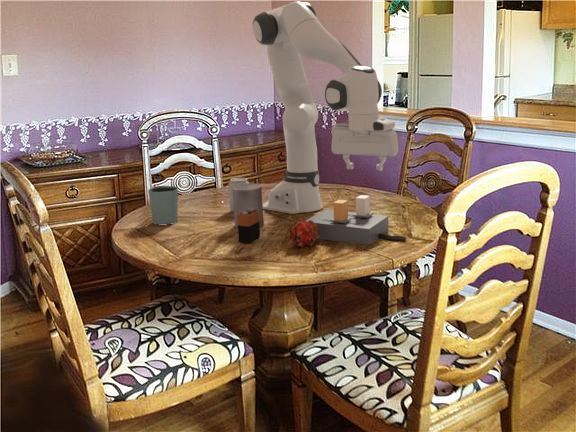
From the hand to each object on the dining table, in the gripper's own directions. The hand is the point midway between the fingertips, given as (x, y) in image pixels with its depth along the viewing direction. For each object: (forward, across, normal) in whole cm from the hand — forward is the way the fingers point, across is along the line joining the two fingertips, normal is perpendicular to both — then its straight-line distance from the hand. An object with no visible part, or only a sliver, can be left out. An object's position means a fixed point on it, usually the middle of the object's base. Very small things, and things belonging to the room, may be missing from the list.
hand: (364, 169), depth 191 cm
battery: (+22, -33, -15) cm, 42 cm away
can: (+21, -56, +15) cm, 62 cm away
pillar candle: (+21, -42, -1) cm, 47 cm away
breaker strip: (+22, -4, +4) cm, 23 cm away
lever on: (+16, -4, +8) cm, 19 cm away
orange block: (+16, -8, 0) cm, 18 cm away
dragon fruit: (+22, -15, -12) cm, 29 cm away
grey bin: (+21, -72, -8) cm, 76 cm away
